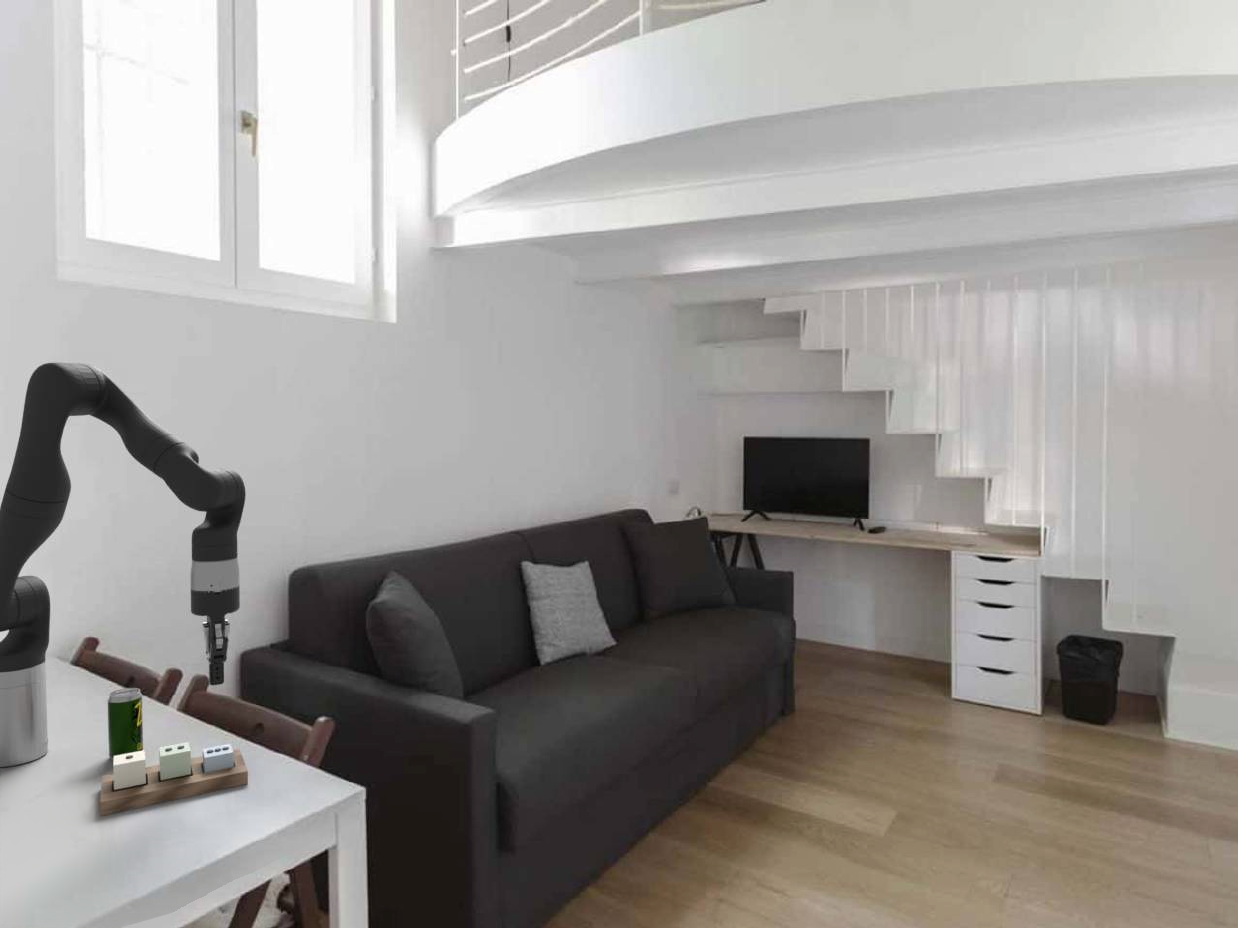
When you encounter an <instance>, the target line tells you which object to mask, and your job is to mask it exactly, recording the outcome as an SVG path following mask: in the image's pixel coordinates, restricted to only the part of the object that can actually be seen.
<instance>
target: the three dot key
mask: <svg viewBox="0 0 1238 928" xmlns="http://www.w3.org/2000/svg"><path fill="white" fill-rule="evenodd" d="M233 750H234V749H233V746H232V744H231V743H228V744H227V743H226V744H221V745H215V746H212V747H211V746H210V747H206V748H202V756H203V773H208V772H212V771H217V770H222V769H227V768H232V767H234V755H233Z"/></svg>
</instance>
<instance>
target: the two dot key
mask: <svg viewBox="0 0 1238 928" xmlns="http://www.w3.org/2000/svg"><path fill="white" fill-rule="evenodd" d="M158 753H159V756H158V757H159V765H160V778H161V780H165V779H169V778H174V777H179V776H184V775H189V774H191V758H192V757H191V756H192V755H191V753H192V752H191V747H190V742H189V741H186V742H181V743H175V744H171V745H165V746H161V747H158Z"/></svg>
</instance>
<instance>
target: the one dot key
mask: <svg viewBox="0 0 1238 928" xmlns="http://www.w3.org/2000/svg"><path fill="white" fill-rule="evenodd" d="M145 751H146V750H145V749H143V751H138V752H132V753H127V754H121V755H116V756H114V761H113V763H112V764H113V767H112V768H113V774H114V790H116V789H121V788H126V787H131V786H136V785H140V784H145V783H146V767H147V766H146V764H147V763H146V752H145Z"/></svg>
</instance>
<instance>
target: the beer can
mask: <svg viewBox="0 0 1238 928" xmlns="http://www.w3.org/2000/svg"><path fill="white" fill-rule="evenodd" d="M143 726H144V725H143V694H142V693H141V689H140V688H137V687H126V688H121V689H117V690H114V691H111V692H110V693H109V694H108V698H107V728H108V729H107V731H108V732H107V733H108V734H107V735H108V736H107V737H108V738H107V739H108V756H109V758H110V760H111V761H113V762H114V756H116V755H121V754H127V753H132V752H138V751H143V750H144V732H143V730H144V727H143Z"/></svg>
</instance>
